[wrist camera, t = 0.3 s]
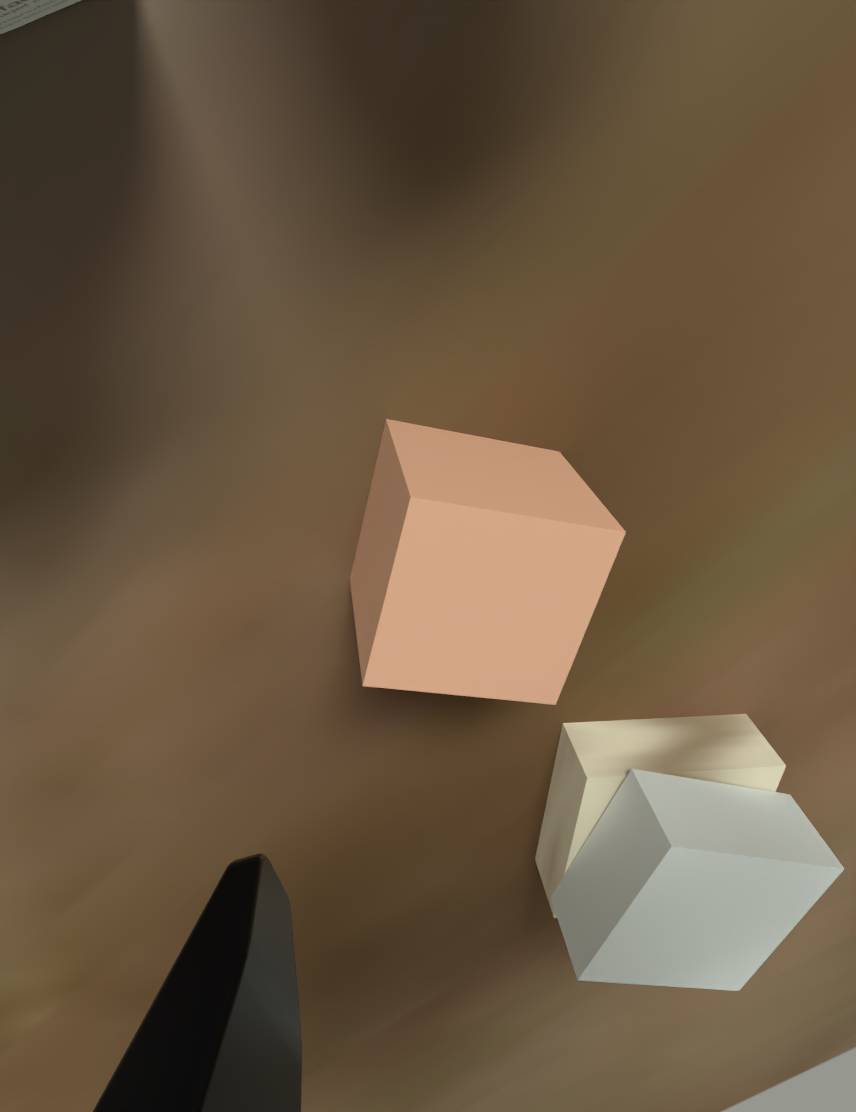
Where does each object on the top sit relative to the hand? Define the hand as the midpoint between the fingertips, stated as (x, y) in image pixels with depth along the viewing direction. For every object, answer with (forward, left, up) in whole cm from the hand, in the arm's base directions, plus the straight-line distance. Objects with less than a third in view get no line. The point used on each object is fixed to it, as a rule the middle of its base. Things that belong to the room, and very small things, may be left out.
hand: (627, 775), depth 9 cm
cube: (-1, +3, -13) cm, 13 cm away
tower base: (-11, +13, -13) cm, 21 cm away
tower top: (-11, +13, -10) cm, 20 cm away
